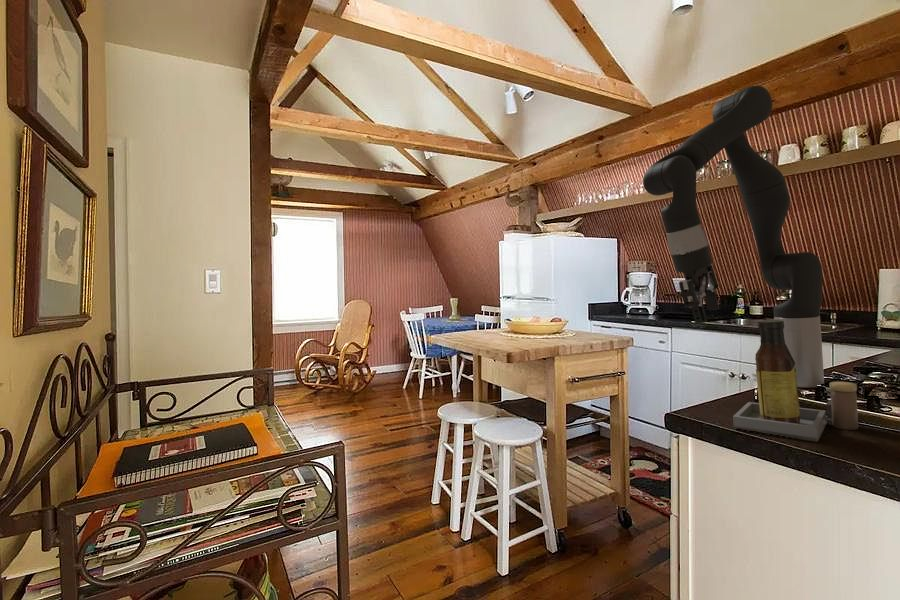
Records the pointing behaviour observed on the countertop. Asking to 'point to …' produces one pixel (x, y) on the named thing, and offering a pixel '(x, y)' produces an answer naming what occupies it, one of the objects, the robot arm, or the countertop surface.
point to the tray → (782, 423)
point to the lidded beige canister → (844, 405)
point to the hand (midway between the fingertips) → (707, 316)
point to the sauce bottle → (776, 375)
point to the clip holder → (829, 410)
